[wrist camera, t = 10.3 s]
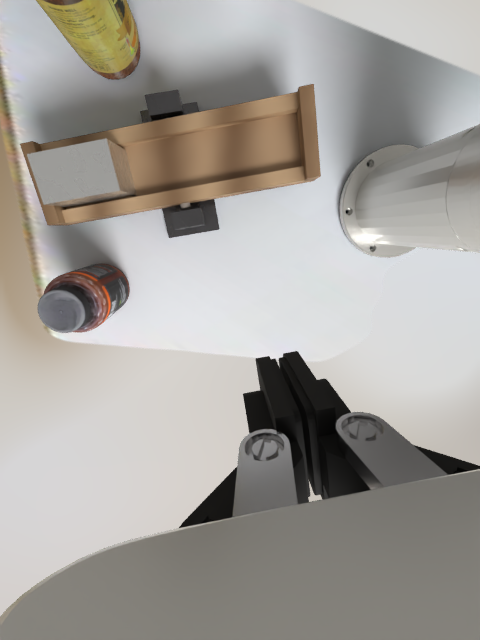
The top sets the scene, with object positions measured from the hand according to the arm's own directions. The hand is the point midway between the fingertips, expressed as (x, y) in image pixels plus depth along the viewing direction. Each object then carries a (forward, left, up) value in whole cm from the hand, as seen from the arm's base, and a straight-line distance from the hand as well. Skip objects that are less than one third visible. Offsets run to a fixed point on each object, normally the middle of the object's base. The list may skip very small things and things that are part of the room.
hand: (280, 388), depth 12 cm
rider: (+12, -13, -22) cm, 28 cm away
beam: (+4, -13, -25) cm, 28 cm away
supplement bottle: (+16, -2, -27) cm, 32 cm away
